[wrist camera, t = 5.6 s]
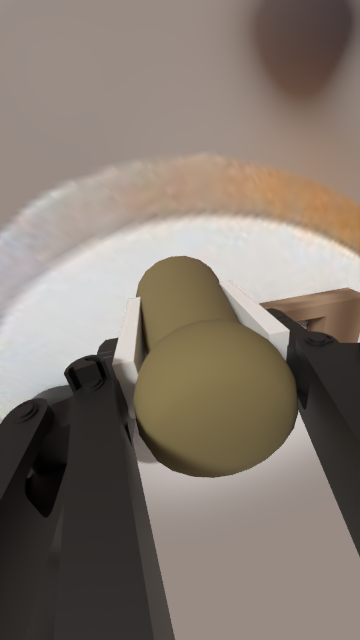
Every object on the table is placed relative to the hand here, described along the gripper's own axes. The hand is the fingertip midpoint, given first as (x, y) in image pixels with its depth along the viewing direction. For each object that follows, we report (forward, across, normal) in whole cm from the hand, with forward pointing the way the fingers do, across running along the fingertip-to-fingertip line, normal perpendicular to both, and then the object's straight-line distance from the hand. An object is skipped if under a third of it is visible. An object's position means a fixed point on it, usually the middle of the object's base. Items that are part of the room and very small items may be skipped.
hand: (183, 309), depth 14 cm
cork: (+2, 0, 0) cm, 2 cm away
